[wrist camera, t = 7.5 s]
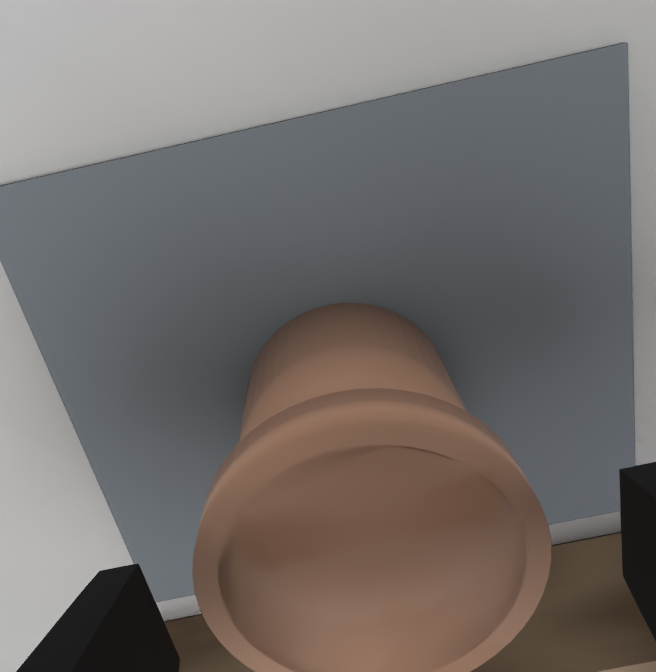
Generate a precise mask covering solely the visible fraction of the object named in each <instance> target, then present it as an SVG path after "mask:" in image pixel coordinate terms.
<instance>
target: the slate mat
mask: <svg viewBox="0 0 656 672" xmlns="http://www.w3.org/2000/svg"><path fill="white" fill-rule="evenodd" d="M0 261H1V263H2V265H3V267H4V270H5V272H6V274H7V276H8V279H9V281H10V283H11V286H12V288H13V290H14V292H15V295H16V297H17V299H18V301H19V304H20V306H21V308H22V311H23V313H24V315H25V317H26V320H27V322H28V324H29V326H30V329H31V331H32V333H33V336H34V338H35V340H36V342H37V345H38V347H39V349H40V351H41V354H42V356H43V358H44V360H45V363H46V365H47V367H48V370H49V372H50V374H51V376H52V379H53V381H54V383H55V385H56V388H57V390H58V392H59V395H60V397H61V399H62V401H63V404H64V406H65V408H66V410H67V413H68V415H69V417H70V420H71V422H72V424H73V426H74V429H75V431H76V433H77V435H78V438H79V440H80V442H81V444H82V447H83V449H84V451H85V454H86V456H87V458H88V460H89V463H90V465H91V467H92V469H93V472H94V474H95V476H96V479H97V481H98V483H99V485H100V488H101V490H102V492H103V494H104V497H105V499H106V501H107V504H108V506H109V508H110V510H111V513H112V515H113V517H114V519H115V522H116V524H117V526H118V529H119V531H120V533H121V535H122V538H123V540H124V542H125V544H126V547H127V549H128V551H129V553H130V556H131V558H132V560H133V563H134V564H138V563H139V565H140V568H141V570H142V572H143V575H144V577H145V579H146V582H147V584H148V586H149V588H150V591H151V593H152V595H153V598H154V600H155V602H160V601H165V600H170V599H175V598H181V597H186V596H191V595H195V591H194V584H193V576H192V569H193V554H194V549H195V544H196V539H197V535H198V530H199V526H200V521H201V517H202V512H203V508H204V503H205V499H206V495H207V493H208V490H209V487H210V485H211V482H212V480H213V478H214V476H215V474H216V473H217V471H218V469H219V467H220V466H221V464H222V462H223V461H224V460H225V458H226V457H227V456H228V455H229V453H230V452H231V451H232V450H233V448H234V447H235V446H236V445H237V444H238V440H239V434H240V428H241V422H242V416H243V410H244V405H245V399H246V393H247V387H248V381H249V377H250V372H251V369H252V367H253V364H254V361H255V359H256V357H257V356H258V354H259V352H260V350H261V349H262V347H263V346H264V345H265V343H266V342H267V341H268V339H269V338H270V337H271V336H272V335H273V334H274V333H275V332H276V331H277V330H278V329H279V328H281V327H282V326H283V325H285V324H286V323H287V322H289V321H290V320H292V319H294V318H295V317H297V316H299V315H301V314H303V313H305V312H308V311H310V310H313V309H316V308H319V307H323V306H326V305H333V304H339V303H361V304H370V305H374V306H378V307H382V308H385V309H388V310H391V311H393V312H396V313H398V314H399V315H401V316H403V317H405V318H407V319H408V320H410V321H411V322H412V323H414V324H415V325H417V326H418V327H419V328H420V329H421V330H422V331H423V332H424V333H425V334H426V335H427V336H428V337H429V339H430V340H431V341H432V342H433V344H434V346H435V347H436V349H437V351H438V352H439V354H440V356H441V358H442V360H443V362H444V364H445V367H446V369H447V371H448V373H449V375H450V377H451V379H452V381H453V383H454V385H455V387H456V389H457V391H458V394H459V396H460V398H461V400H462V402H463V404H464V406H465V408H466V410H467V412H469V413H470V414H472V415H473V416H475V417H476V418H478V419H479V420H480V421H482V422H483V423H485V424H486V425H487V426H488V427H489V428H490V429H491V430H493V431H494V432H495V433H496V434H497V435H498V436H499V437H500V438H501V439H502V441H503V442H504V443H505V444H506V445H507V447H508V448H509V449H510V450H511V452H512V453H513V455H514V457H515V459H516V460H517V462H518V464H519V466H520V467H521V469H522V471H523V473H524V475H525V477H526V478H527V480H528V482H529V484H530V486H531V487H532V489H533V491H534V493H535V495H536V497H537V498H538V500H539V502H540V504H541V506H542V509H543V511H544V514H545V517H546V520H547V522H548V525H551V524H556V523H561V522H566V521H571V520H576V519H581V518H586V517H591V516H596V515H601V514H606V513H611V512H616V511H621V508H620V477H619V469H623V468H628V467H633V466H635V417H634V362H633V306H632V251H631V195H630V140H629V84H628V43H621V44H617V45H612V46H608V47H604V48H599V49H595V50H590V51H586V52H582V53H577V54H573V55H569V56H564V57H560V58H556V59H551V60H547V61H543V62H538V63H534V64H529V65H525V66H521V67H516V68H512V69H508V70H503V71H499V72H495V73H490V74H486V75H481V76H477V77H473V78H468V79H464V80H460V81H455V82H451V83H447V84H442V85H438V86H434V87H429V88H425V89H420V90H416V91H412V92H407V93H403V94H399V95H394V96H390V97H386V98H381V99H377V100H373V101H368V102H364V103H359V104H355V105H351V106H346V107H342V108H338V109H333V110H329V111H325V112H320V113H316V114H312V115H307V116H303V117H298V118H294V119H290V120H285V121H281V122H277V123H272V124H268V125H264V126H259V127H255V128H250V129H246V130H242V131H237V132H233V133H229V134H224V135H220V136H216V137H211V138H207V139H203V140H198V141H194V142H189V143H185V144H181V145H176V146H172V147H168V148H163V149H159V150H155V151H150V152H146V153H142V154H137V155H133V156H128V157H124V158H120V159H115V160H111V161H107V162H102V163H98V164H94V165H89V166H85V167H81V168H76V169H72V170H67V171H63V172H59V173H54V174H50V175H46V176H41V177H37V178H33V179H28V180H24V181H20V182H15V183H11V184H6V185H2V186H0Z"/></svg>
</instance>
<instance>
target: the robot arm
mask: <svg viewBox="0 0 656 672" xmlns="http://www.w3.org/2000/svg"><path fill="white" fill-rule="evenodd" d="M619 477H620V508H621V540H622V571H623V577H624V579H625V581H626V583H627V585H628V587H629V589H630V592H631V594H632V596H633V598H634V600H635V602H636V604H637V606H638V608H639V610H640V612H641V614H642V616H643V618H644V620H645V622H646V624H647V625H648V627H649V629H650V631H651V633H652V635H653V637H654V639H655V641H656V462H653V463H648V464H643V465H638V466H633V467H628V468H623V469H619ZM179 665H180V657H179V655H178V653H177V651H176V648H175V646H174V644H173V641H172V639H171V637H170V634H169V632H168V630H167V628H166V625H165V623H164V621H163V618H162V616H161V614H160V611H159V609H158V607H157V605H156V602H155V600H154V598H153V595H152V593H151V591H150V588H149V586H148V584H147V582H146V579H145V577H144V575H143V572H142V570H141V568H140V565H139V563H138V564H133V565H128V566H123V567H118V568H113V569H108V570H102V571H99V573H98V574H97V575H96V576H95V577H94V578H93V579H92V580H91V582H90V583H89V584H88V585H87V586H86V587H85V589H84V590H83V591H82V592H81V593H80V595H79V596H78V597H77V598H76V599H75V601H74V602H73V603H72V604H71V606H70V607H69V608H68V609H67V610H66V612H65V613H64V614H63V615H62V617H61V618H60V619H59V620H58V621H57V623H56V624H55V625H54V626H53V628H52V629H51V630H50V631H49V633H48V634H47V635H46V636H45V637H44V639H43V640H42V641H41V642H40V644H39V645H38V646H37V647H36V648H35V650H34V651H33V652H32V653H31V654H30V656H29V657H28V658H27V659H26V661H25V662H24V663H23V664H22V665H21V667H20V668H19V669H18V670H17V671H16V672H179Z"/></svg>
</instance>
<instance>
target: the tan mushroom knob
mask: <svg viewBox="0 0 656 672" xmlns="http://www.w3.org/2000/svg"><path fill="white" fill-rule="evenodd" d="M550 564H551V538H550V532H549V527H548V522H547V520H546V517H545V514H544V511H543V509H542V506H541V504H540V502H539V500H538V498H537V497H536V495H535V493H534V491H533V489H532V487H531V486H530V484H529V482H528V480H527V478H526V477H525V475H524V473H523V471H522V469H521V467H520V466H519V464H518V462H517V460H516V459H515V457H514V455H513V453H512V452H511V450H510V449H509V448H508V447H507V445H506V444H505V443H504V442H503V441H502V439H501V438H500V437H499V436H498V435H497V434H496V433H495V432H494V431H493V430H491V429H490V428H489V427H488V426H487V425H486V424H485V423H483V422H482V421H480V420H479V419H478V418H476V417H475V416H473V415H472V414H470V413H469V412H467V410H466V408H465V406H464V404H463V402H462V400H461V398H460V396H459V394H458V391H457V389H456V387H455V385H454V383H453V381H452V379H451V377H450V375H449V373H448V371H447V369H446V367H445V364H444V362H443V360H442V358H441V356H440V354H439V352H438V351H437V349H436V347H435V346H434V344H433V342H432V341H431V340H430V339H429V337H428V336H427V335H426V334H425V333H424V332H423V331H422V330H421V329H420V328H419V327H418V326H417V325H415V324H414V323H412V322H411V321H410V320H408V319H407V318H405V317H403V316H401V315H399V314H398V313H396V312H393V311H391V310H388V309H385V308H382V307H378V306H374V305H370V304H361V303H339V304H333V305H326V306H323V307H319V308H316V309H313V310H310V311H308V312H305V313H303V314H301V315H299V316H297V317H295V318H294V319H292V320H290V321H289V322H287V323H286V324H285V325H283V326H282V327H281V328H279V329H278V330H277V331H276V332H275V333H274V334H273V335H272V336H271V337H270V338H269V339H268V341H267V342H266V343H265V345H264V346H263V347H262V349H261V350H260V352H259V354H258V356H257V357H256V359H255V361H254V364H253V367H252V369H251V372H250V377H249V381H248V387H247V393H246V399H245V405H244V410H243V416H242V422H241V428H240V434H239V440H238V444H237V445H236V446H235V447H234V448H233V450H232V451H231V452H230V453H229V455H228V456H227V457H226V458H225V460H224V461H223V462H222V464H221V466H220V467H219V469H218V471H217V473H216V474H215V476H214V478H213V480H212V482H211V485H210V487H209V490H208V493H207V495H206V499H205V503H204V508H203V512H202V517H201V521H200V526H199V530H198V535H197V539H196V544H195V549H194V554H193V569H192V576H193V584H194V591H195V595H196V598H197V602H198V605H199V608H200V611H201V613H202V615H203V617H204V619H205V621H206V623H207V625H208V626H209V628H210V629H211V631H212V632H213V633H214V635H215V636H216V638H217V639H218V641H219V642H220V643H221V644H222V645H223V646H224V647H225V648H226V649H227V650H228V651H229V652H230V653H231V654H232V655H233V656H234V657H236V658H237V659H238V660H239V661H241V662H242V663H243V664H244V665H245V666H247V667H249V668H250V669H252V670H253V671H255V672H470V671H472V670H474V669H475V668H477V667H479V666H481V665H482V664H483V663H485V662H486V661H488V660H489V659H490V658H492V657H493V656H495V655H496V654H497V653H498V652H499V651H501V650H502V649H503V648H504V647H505V646H506V645H507V644H509V643H510V642H511V641H512V640H513V638H514V637H515V636H516V635H517V634H518V633H519V632H520V631H521V629H522V628H523V627H524V626H525V624H526V623H527V621H528V620H529V619H530V617H531V616H532V614H533V613H534V611H535V609H536V607H537V605H538V603H539V601H540V599H541V597H542V595H543V592H544V589H545V586H546V583H547V580H548V577H549V571H550Z"/></svg>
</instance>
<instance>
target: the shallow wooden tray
mask: <svg viewBox="0 0 656 672" xmlns="http://www.w3.org/2000/svg"><path fill="white" fill-rule="evenodd" d="M164 623H165V625H166V628H167V630H168V632H169V634H170V637H171V639H172V641H173V644H174V646H175V648H176V651H177V653H178V655H179V657H180V665H179V672H255V671H253V670H252V669H250V668H249V667H247V666H245V665H244V664H243V663H242V662H241V661H239V660H238V659H237V658H236V657H234V656H233V655H232V654H231V653H230V652H229V651H228V650H227V649H226V648H225V647H224V646H223V645H222V644H221V643H220V642H219V641H218V639H217V638H216V636H215V635H214V633H213V632H212V631H211V629H210V628H209V626H208V625H207V623H206V621H205V619H204V617H203V615H199V616H194V617H188V618H183V619H178V620H173V621H168V622H164ZM470 672H656V641H655V639H654V637H653V635H652V633H651V631H650V629H649V627H648V625H647V624H646V622H645V620H644V618H643V616H642V614H641V612H640V610H639V608H638V606H637V604H636V602H635V600H634V598H633V596H632V594H631V592H630V589H629V587H628V585H627V583H626V581H625V579H624V577H623V571H622V540H621V533H618V534H612V535H607V536H602V537H597V538H592V539H587V540H582V541H577V542H572V543H566V544H561V545H556V546H551V564H550V571H549V577H548V580H547V583H546V586H545V589H544V592H543V595H542V597H541V599H540V601H539V603H538V605H537V607H536V609H535V611H534V613H533V614H532V616H531V617H530V619H529V620H528V621H527V623H526V624H525V626H524V627H523V628H522V629H521V631H520V632H519V633H518V634H517V635H516V636H515V637H514V638H513V640H512V641H511V642H510V643H509V644H507V645H506V646H505V647H504V648H503V649H502V650H501V651H499V652H498V653H497V654H496V655H495V656H493V657H492V658H490V659H489V660H488V661H486V662H485V663H483V664H482V665H481V666H479V667H477V668H475V669H474V670H472V671H470Z"/></svg>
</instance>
